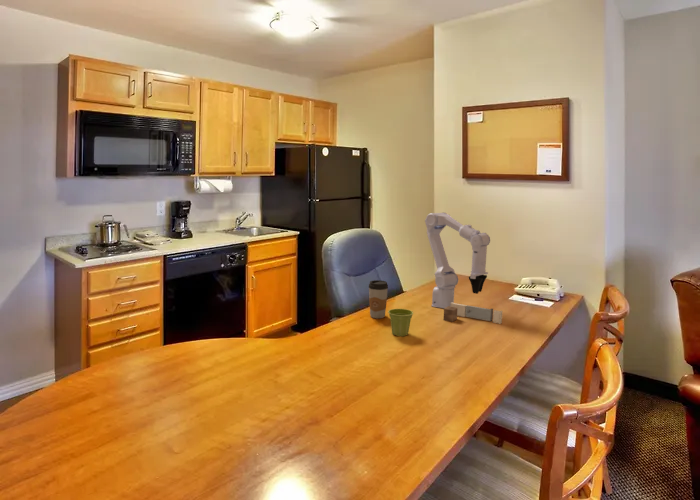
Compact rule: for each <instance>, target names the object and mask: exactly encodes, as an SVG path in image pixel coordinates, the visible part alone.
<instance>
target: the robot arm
mask: <svg viewBox="0 0 700 500" xmlns="http://www.w3.org/2000/svg"><path fill="white" fill-rule="evenodd" d="M424 223H425V226H426V235H427V238H428V239H427V240H428V241H429V245H430V248H431V251H432V256H433V258H434V261H435V264H436V265H435V266H436V268H437V269H436V271H435V272H434V277H435V278H434V279H435V286H434V288H433V289H432V297H431V298H432V299H431V307H434V308H440V309H445V308H446V307H448V306H451V303H452V302H453V303H455V288H456V286H457V285H458V283H459V277H458V275H457V273H456V272H455V269H454V268H453V267H452V266H450V264H449V261H448V257H447V254H446V250H445V248H444V244H443V241H442V238H441V236H440V235H441V232H442V231H444V229H445V228H446V226H447V227H449V228H451V229H453V230H454V231H457V232H458V233H459V236H460V237H461V238H464V240H466V241H468V242H469V243H470V245H471V250H472V255H471V271H470V276H468V280H469V282H470V284H471V292H472V293H473V294H479V292H480V293H481V292H482V291H483V286H484V284H485V281H486V279H488V278H487V277H488V275H489V272H488V271H487V269H486V268H487V267H486V264H487V251H488V250H487V249H488V245H490V243H491V237H490V236H489V234H488V233H487V232H480V230H479V229H478V230H477V229H475V228H473V226H472V225H471V224H465V225H463V224H462V223H461V222H459V221H457V219H455V218H453V217H452V216H451V215H450V214H448V213H446V212H431V213H428V214H427V215H426V218H425V219H424Z"/></svg>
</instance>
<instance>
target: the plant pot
mask: <svg viewBox="0 0 700 500" xmlns="http://www.w3.org/2000/svg"><path fill="white" fill-rule="evenodd" d="M387 313H388V314H389V318H390V326H391V327H390V328H391V334H392V335H394V336H396V337H406V336H408V335H409V332H410V326H411V320H412V318H413V315H414V312H413V311H412V310H411V309H407V308H393V309H389V310H388V311H387Z"/></svg>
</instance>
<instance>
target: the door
mask: <svg viewBox="0 0 700 500" xmlns="http://www.w3.org/2000/svg"><path fill="white" fill-rule="evenodd" d="M493 313H494V308H485V307H481V306H480V307H479V306H473V305H466V315H465V317H467V318H471V319H477V320H483V321H487V322H493Z"/></svg>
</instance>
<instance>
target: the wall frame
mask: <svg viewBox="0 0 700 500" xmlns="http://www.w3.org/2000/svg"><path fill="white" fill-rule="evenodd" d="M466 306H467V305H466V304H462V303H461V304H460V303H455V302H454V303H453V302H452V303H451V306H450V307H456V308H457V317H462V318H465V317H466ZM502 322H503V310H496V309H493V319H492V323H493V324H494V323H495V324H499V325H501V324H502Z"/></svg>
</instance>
